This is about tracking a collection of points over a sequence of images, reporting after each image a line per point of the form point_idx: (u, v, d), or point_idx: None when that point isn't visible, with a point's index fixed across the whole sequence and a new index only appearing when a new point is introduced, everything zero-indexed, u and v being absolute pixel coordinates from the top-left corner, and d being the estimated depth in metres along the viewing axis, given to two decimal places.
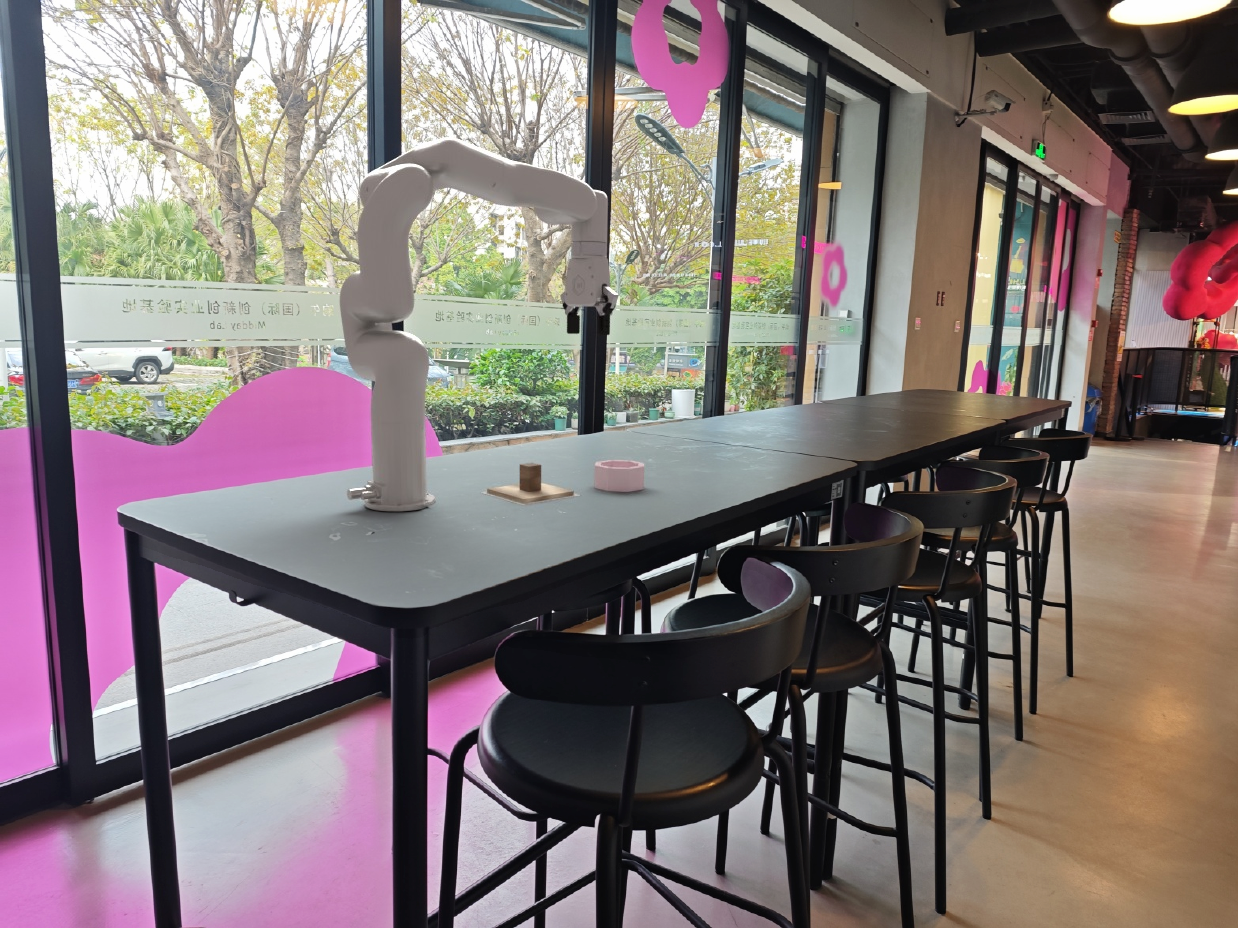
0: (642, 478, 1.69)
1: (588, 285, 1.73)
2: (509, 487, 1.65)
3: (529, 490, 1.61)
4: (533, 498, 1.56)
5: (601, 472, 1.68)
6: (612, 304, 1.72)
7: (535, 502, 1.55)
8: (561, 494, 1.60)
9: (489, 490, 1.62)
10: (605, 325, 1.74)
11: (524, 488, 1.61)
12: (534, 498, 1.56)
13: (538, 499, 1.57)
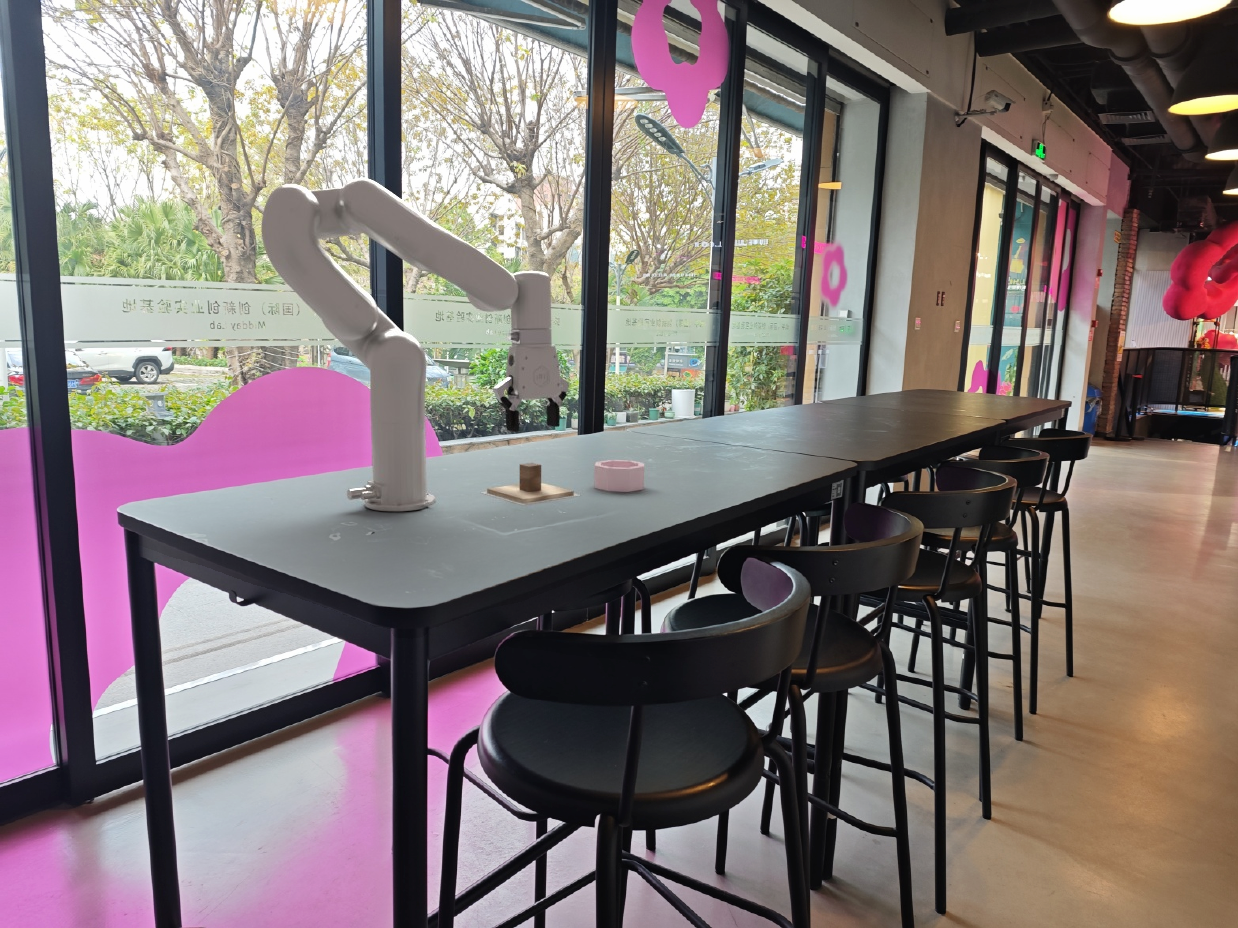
0: (642, 478, 1.69)
1: (553, 375, 1.59)
2: (509, 487, 1.65)
3: (529, 490, 1.61)
4: (533, 498, 1.56)
5: (601, 472, 1.68)
6: None
7: (535, 502, 1.55)
8: (561, 494, 1.60)
9: (489, 490, 1.62)
10: None
11: (524, 488, 1.61)
12: (534, 498, 1.56)
13: (538, 499, 1.57)
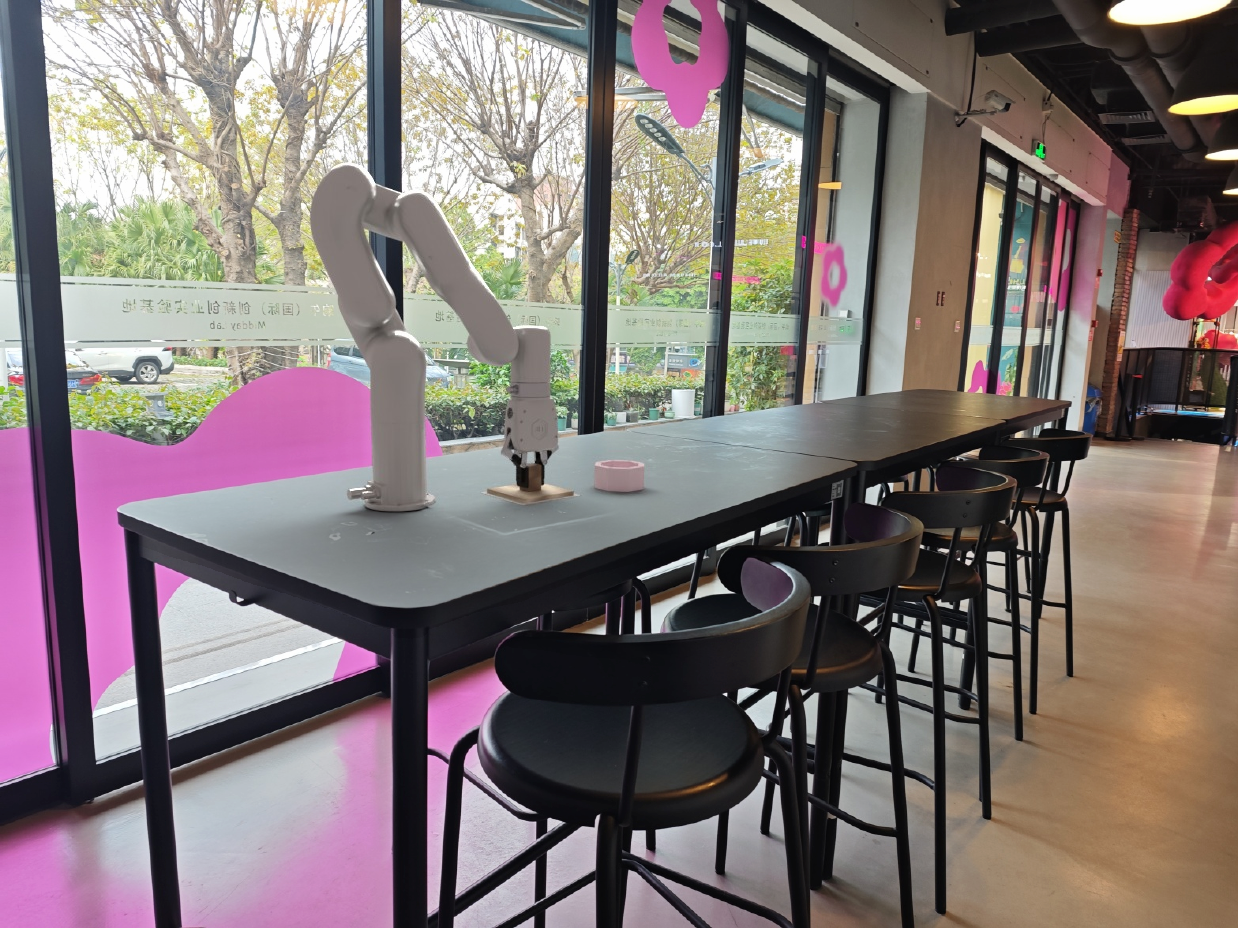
0: (642, 478, 1.69)
1: (551, 428, 1.61)
2: (509, 487, 1.65)
3: (529, 490, 1.61)
4: (533, 498, 1.56)
5: (601, 472, 1.68)
6: None
7: (535, 502, 1.55)
8: (561, 494, 1.60)
9: (489, 490, 1.62)
10: None
11: (524, 488, 1.61)
12: (534, 498, 1.56)
13: (538, 499, 1.57)
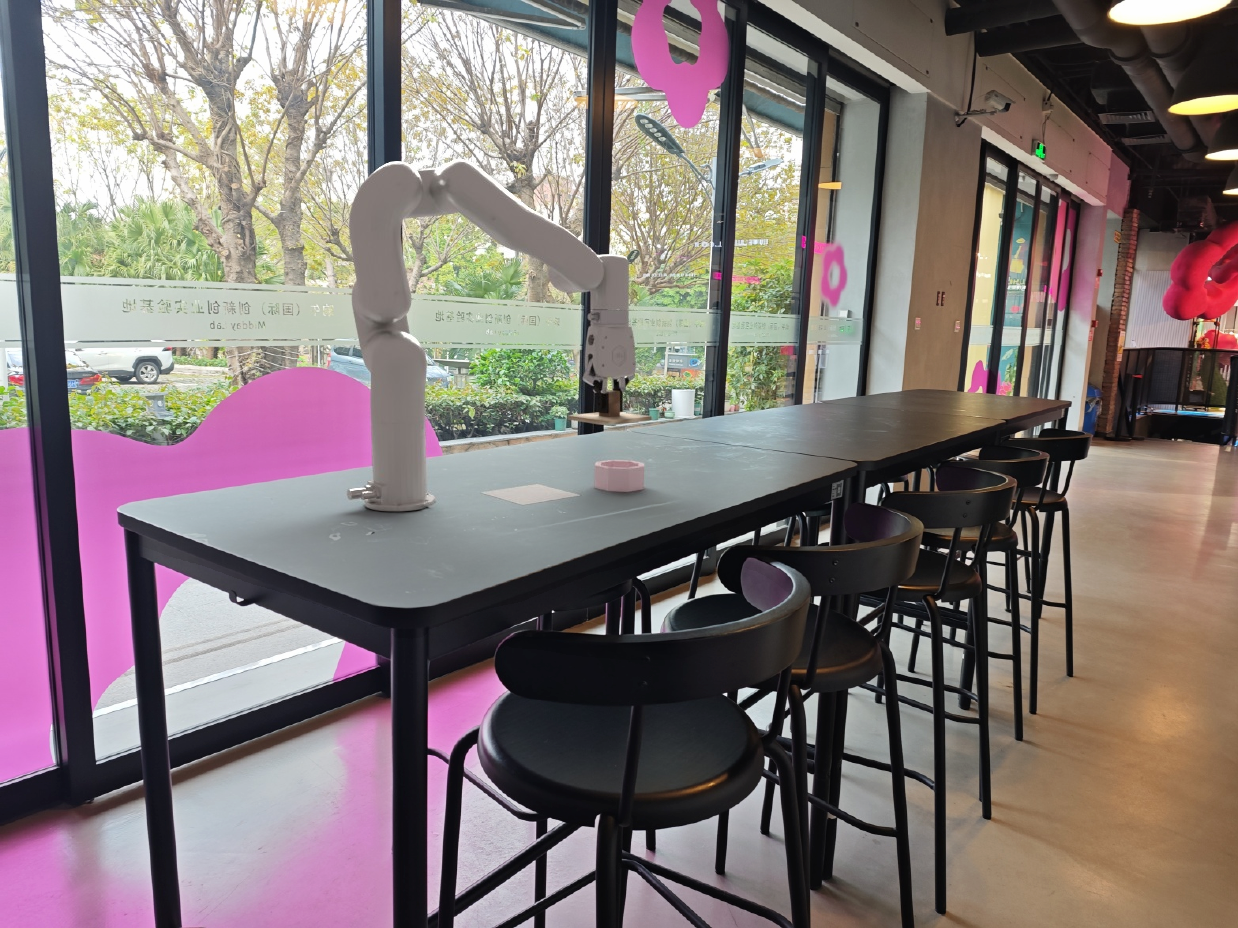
0: (642, 478, 1.69)
1: (630, 355, 1.66)
2: (588, 414, 1.70)
3: (609, 415, 1.66)
4: (615, 421, 1.61)
5: (601, 472, 1.68)
6: None
7: (535, 502, 1.55)
8: (640, 418, 1.66)
9: (569, 417, 1.68)
10: None
11: (604, 414, 1.67)
12: (616, 421, 1.62)
13: (620, 422, 1.62)
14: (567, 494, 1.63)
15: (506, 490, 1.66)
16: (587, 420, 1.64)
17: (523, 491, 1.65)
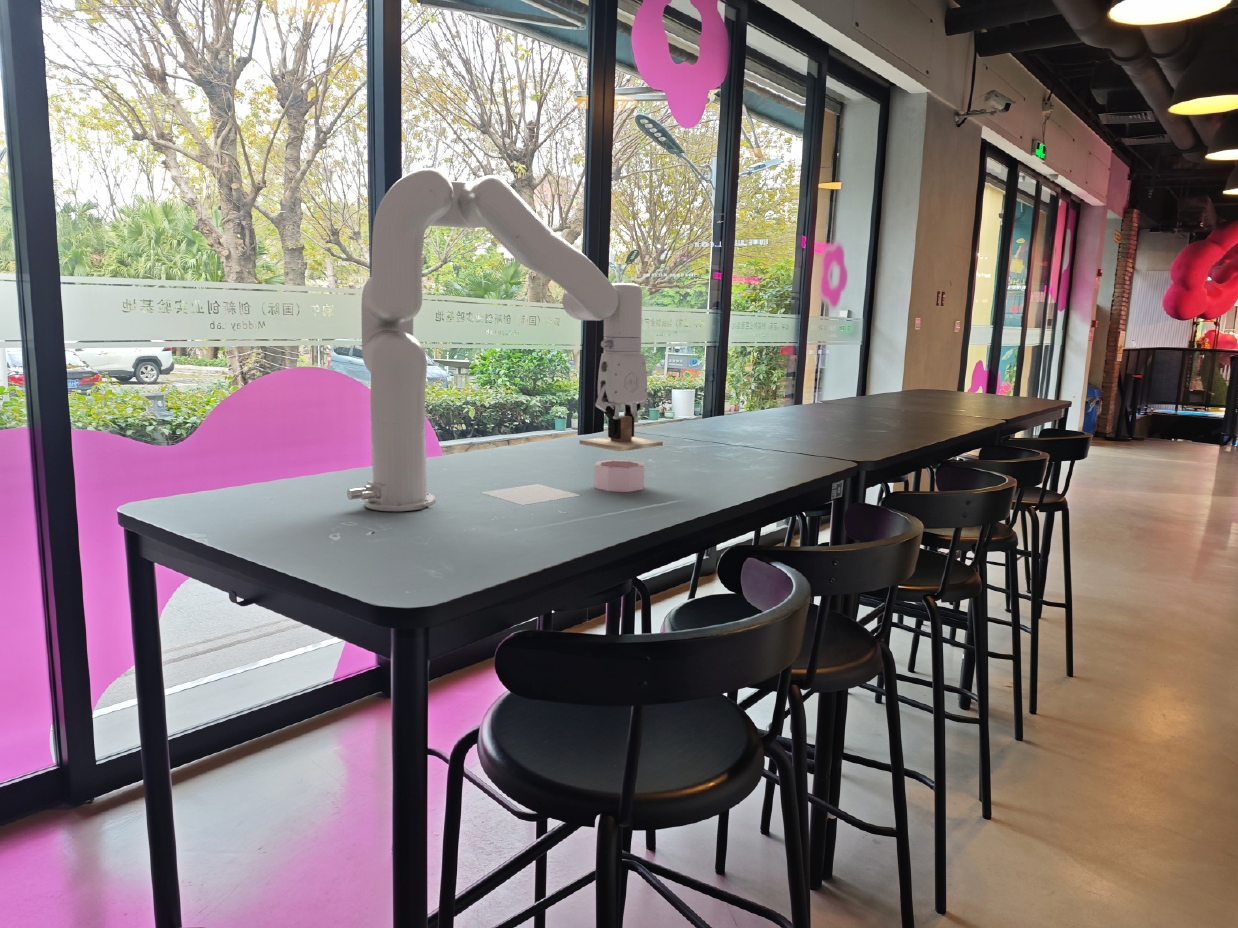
0: (642, 478, 1.69)
1: (642, 381, 1.68)
2: (600, 439, 1.72)
3: (621, 441, 1.68)
4: (627, 447, 1.64)
5: (601, 472, 1.68)
6: None
7: (535, 502, 1.55)
8: (652, 444, 1.68)
9: (582, 441, 1.70)
10: None
11: (616, 439, 1.69)
12: (628, 447, 1.64)
13: (632, 448, 1.64)
14: (567, 494, 1.63)
15: (506, 490, 1.66)
16: (599, 445, 1.66)
17: (523, 491, 1.65)
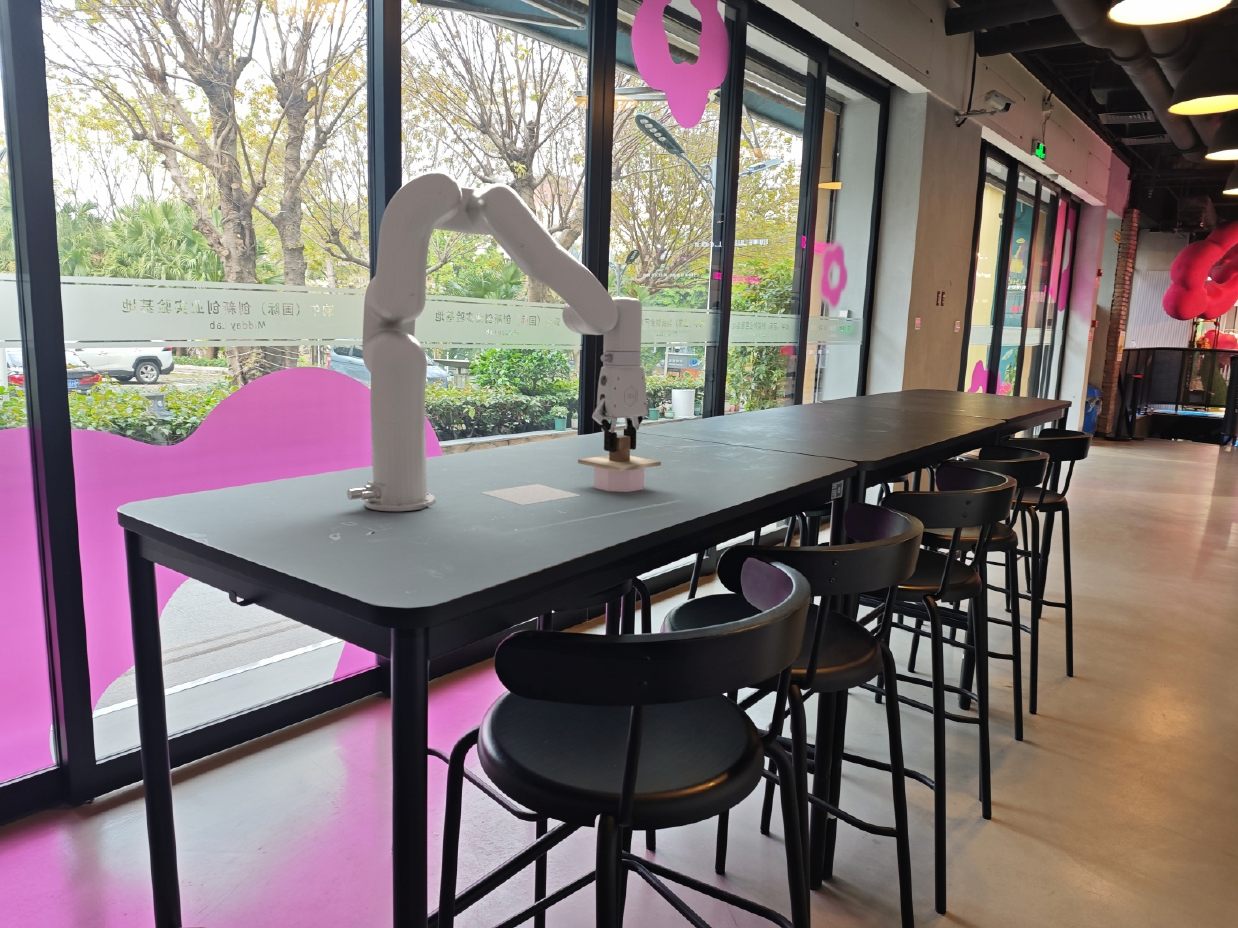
0: (642, 478, 1.69)
1: (641, 395, 1.69)
2: (598, 458, 1.73)
3: (619, 460, 1.69)
4: (625, 467, 1.64)
5: (601, 472, 1.68)
6: None
7: (535, 502, 1.55)
8: (650, 464, 1.69)
9: (580, 461, 1.71)
10: None
11: (614, 458, 1.70)
12: (626, 467, 1.64)
13: (630, 468, 1.65)
14: (567, 494, 1.63)
15: (506, 490, 1.66)
16: (598, 465, 1.67)
17: (523, 491, 1.65)
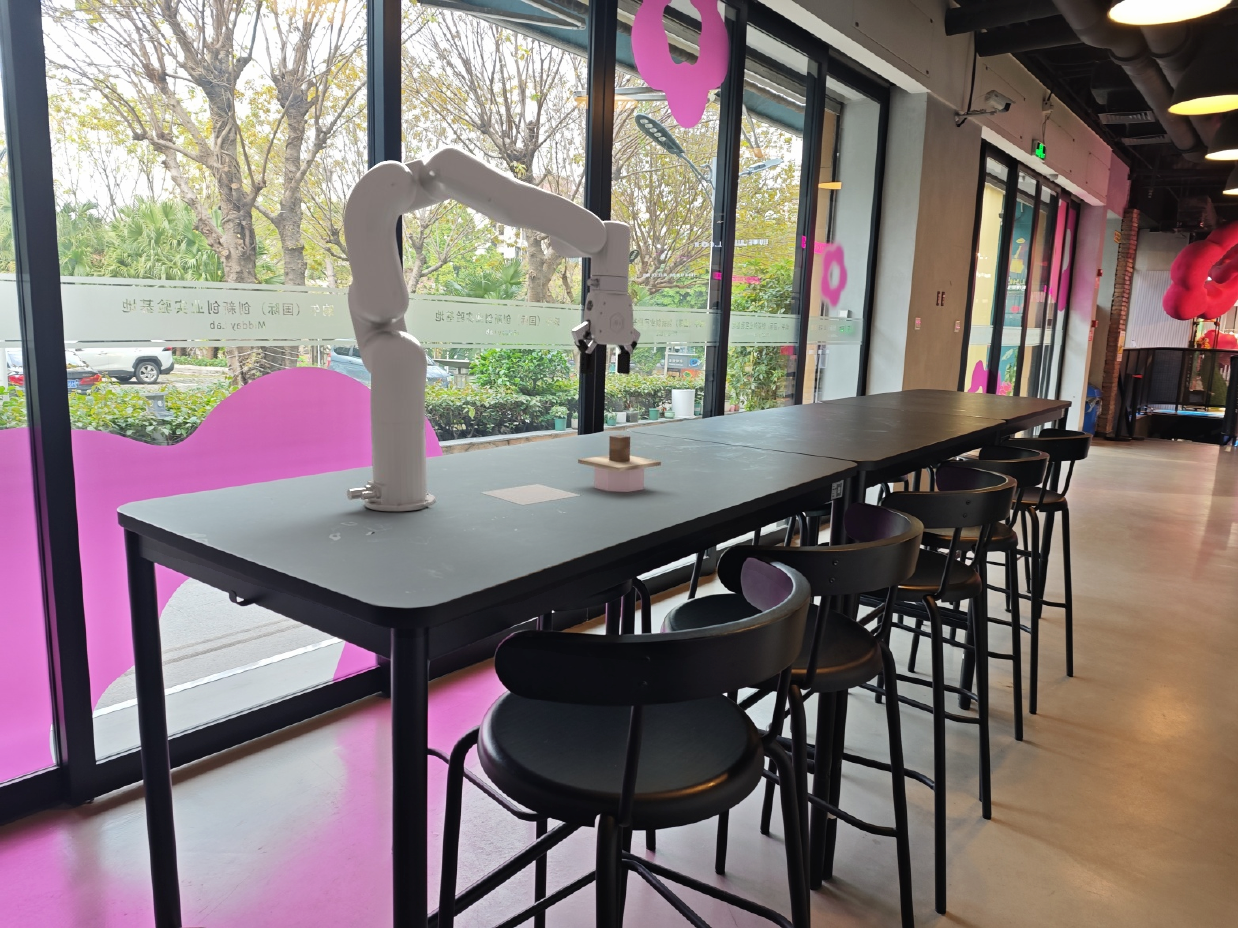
0: (642, 478, 1.69)
1: (628, 323, 1.66)
2: (598, 458, 1.73)
3: (619, 460, 1.69)
4: (625, 467, 1.64)
5: (601, 472, 1.68)
6: None
7: (535, 502, 1.55)
8: (650, 464, 1.69)
9: (580, 461, 1.71)
10: None
11: (614, 458, 1.70)
12: (626, 467, 1.64)
13: (630, 468, 1.65)
14: (567, 494, 1.63)
15: (506, 490, 1.66)
16: (598, 465, 1.67)
17: (523, 491, 1.65)
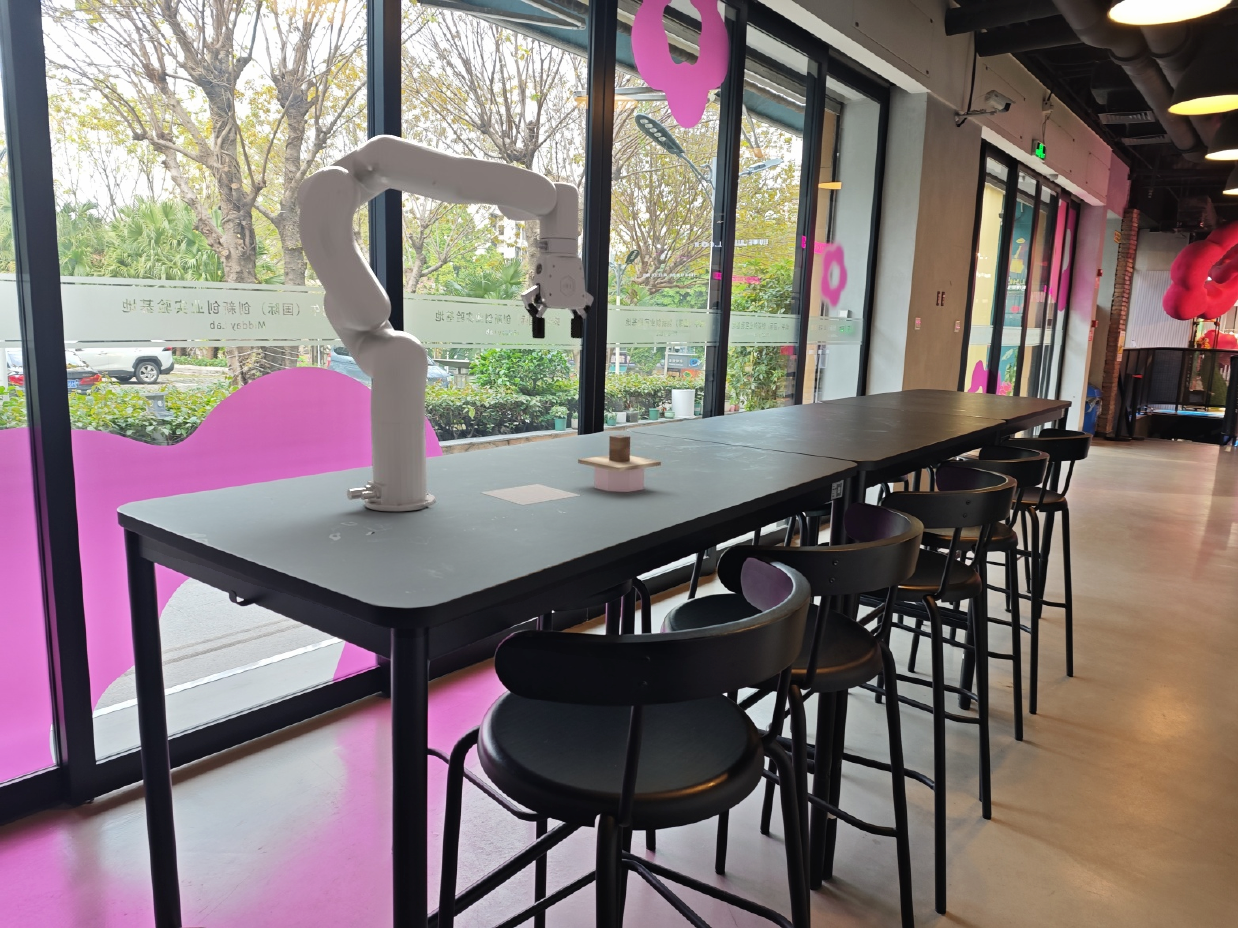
0: (642, 478, 1.69)
1: (579, 286, 1.64)
2: (598, 458, 1.73)
3: (619, 460, 1.69)
4: (625, 467, 1.64)
5: (601, 472, 1.68)
6: None
7: (535, 502, 1.55)
8: (650, 464, 1.69)
9: (580, 461, 1.71)
10: None
11: (614, 458, 1.70)
12: (626, 467, 1.64)
13: (630, 468, 1.65)
14: (567, 494, 1.63)
15: (506, 490, 1.66)
16: (598, 465, 1.67)
17: (523, 491, 1.65)
